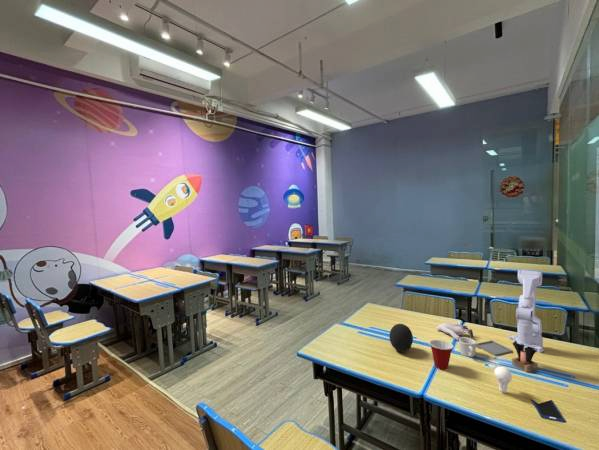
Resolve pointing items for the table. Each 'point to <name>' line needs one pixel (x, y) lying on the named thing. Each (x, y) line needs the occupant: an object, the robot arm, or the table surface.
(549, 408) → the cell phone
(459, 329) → the yeti figurine
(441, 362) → the plastic cup
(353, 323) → the table surface
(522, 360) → the pink rounded capsule
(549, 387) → the table surface
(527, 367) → the holder
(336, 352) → the table surface
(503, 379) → the lightbulb
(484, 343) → the tray
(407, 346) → the decorative egg
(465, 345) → the cup
